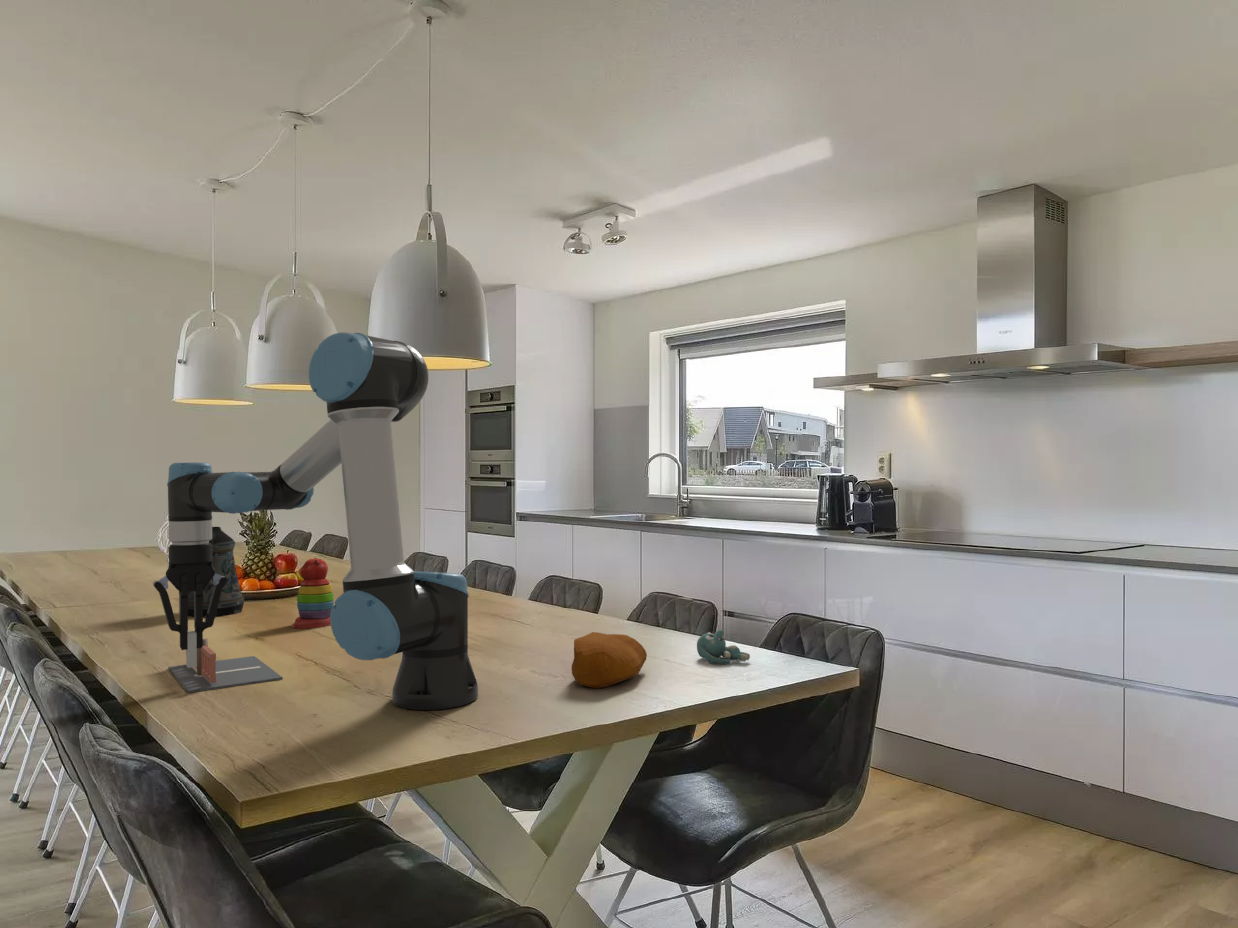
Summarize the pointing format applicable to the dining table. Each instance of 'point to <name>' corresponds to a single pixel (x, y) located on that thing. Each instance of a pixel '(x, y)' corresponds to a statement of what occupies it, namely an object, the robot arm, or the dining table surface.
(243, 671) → the mat
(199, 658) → the fixed panel
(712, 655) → the stuffed animal
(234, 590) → the beer stein
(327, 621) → the stacking bear
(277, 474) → the robot arm
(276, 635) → the dining table surface
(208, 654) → the hinged panel
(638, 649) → the bread
